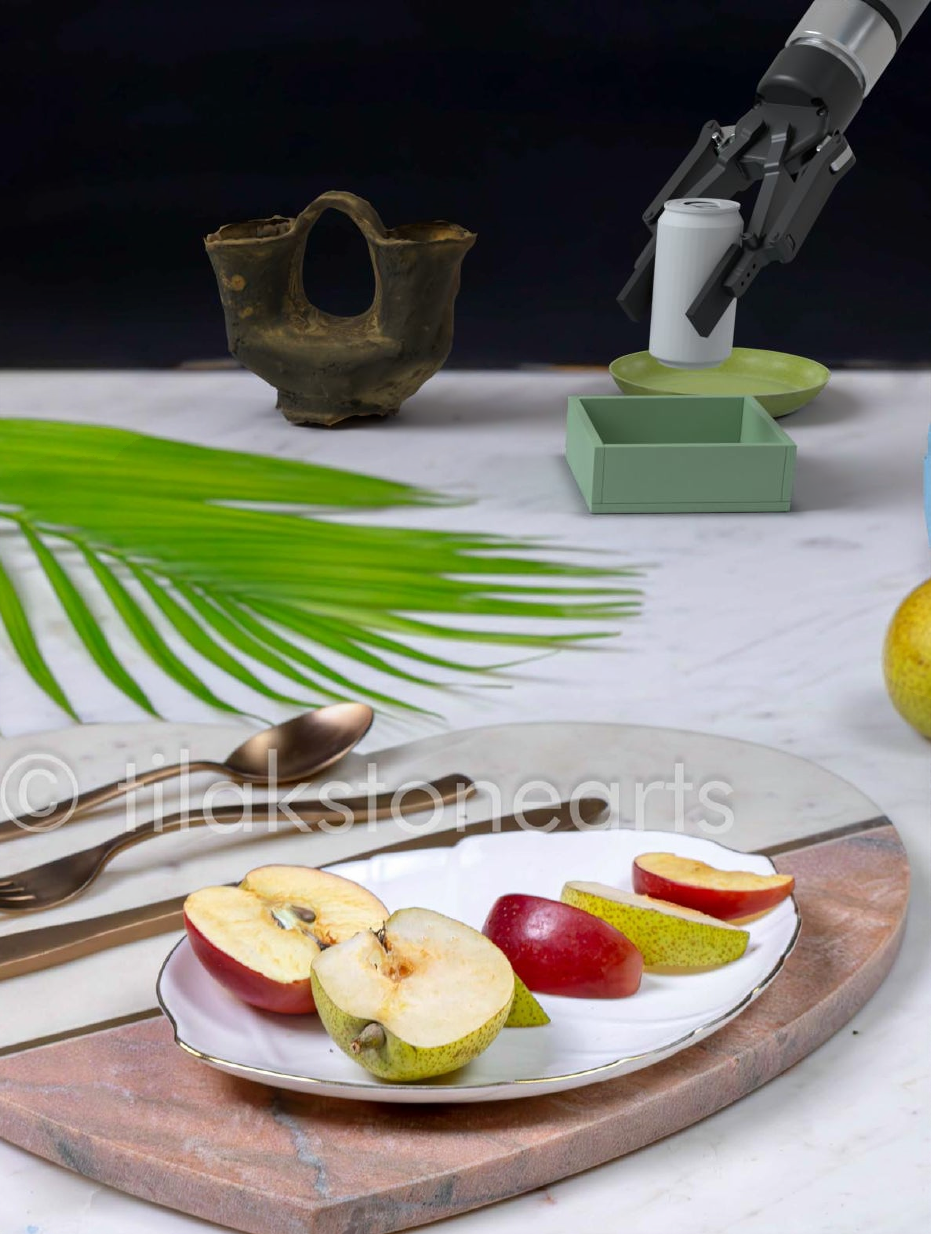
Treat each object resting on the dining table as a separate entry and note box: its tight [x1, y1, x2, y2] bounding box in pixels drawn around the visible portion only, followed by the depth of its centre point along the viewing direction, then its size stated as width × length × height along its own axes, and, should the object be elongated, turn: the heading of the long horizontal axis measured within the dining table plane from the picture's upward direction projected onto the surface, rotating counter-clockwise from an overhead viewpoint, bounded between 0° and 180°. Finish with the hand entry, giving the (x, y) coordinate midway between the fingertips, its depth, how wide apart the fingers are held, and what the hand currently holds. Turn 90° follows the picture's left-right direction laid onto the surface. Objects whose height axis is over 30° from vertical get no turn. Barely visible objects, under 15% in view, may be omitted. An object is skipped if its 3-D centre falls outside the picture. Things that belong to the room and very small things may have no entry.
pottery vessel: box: [203, 190, 478, 427], centre depth 154 cm, size 25×11×20 cm, turn 76°
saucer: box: [608, 346, 832, 419], centre depth 162 cm, size 21×21×3 cm
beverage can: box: [648, 198, 745, 370], centre depth 130 cm, size 6×6×12 cm
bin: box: [564, 395, 798, 514], centre depth 138 cm, size 16×16×5 cm
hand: (661, 318), depth 129 cm, fingers closed on beverage can, 6 cm apart
